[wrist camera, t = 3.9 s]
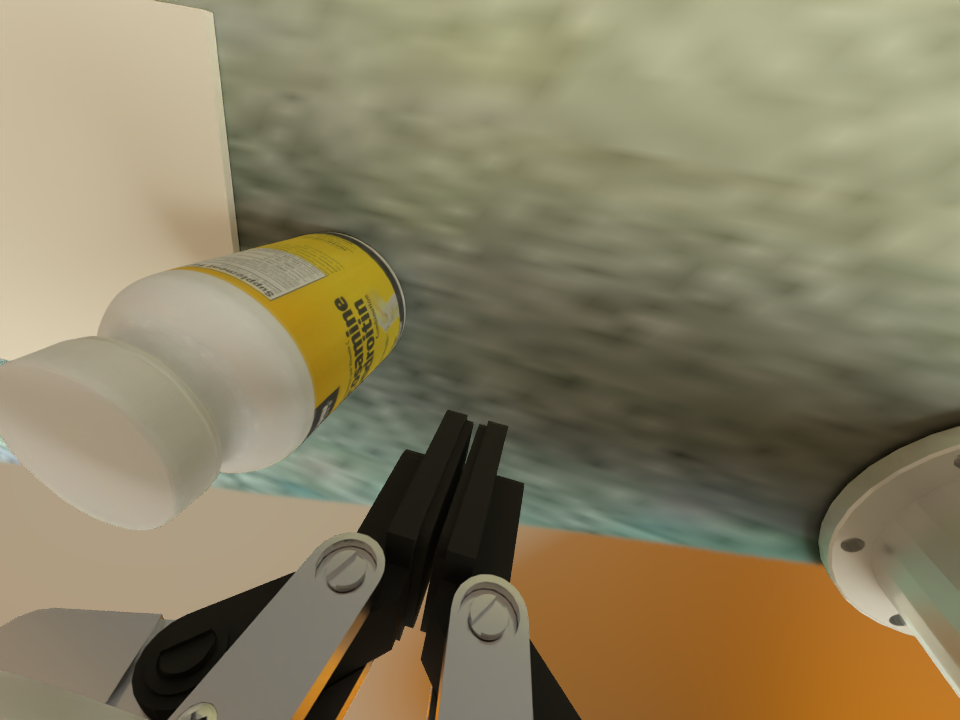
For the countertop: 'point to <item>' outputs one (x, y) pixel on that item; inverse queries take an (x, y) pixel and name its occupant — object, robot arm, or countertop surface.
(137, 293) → the pill bottle
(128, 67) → the mat
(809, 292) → the countertop surface
